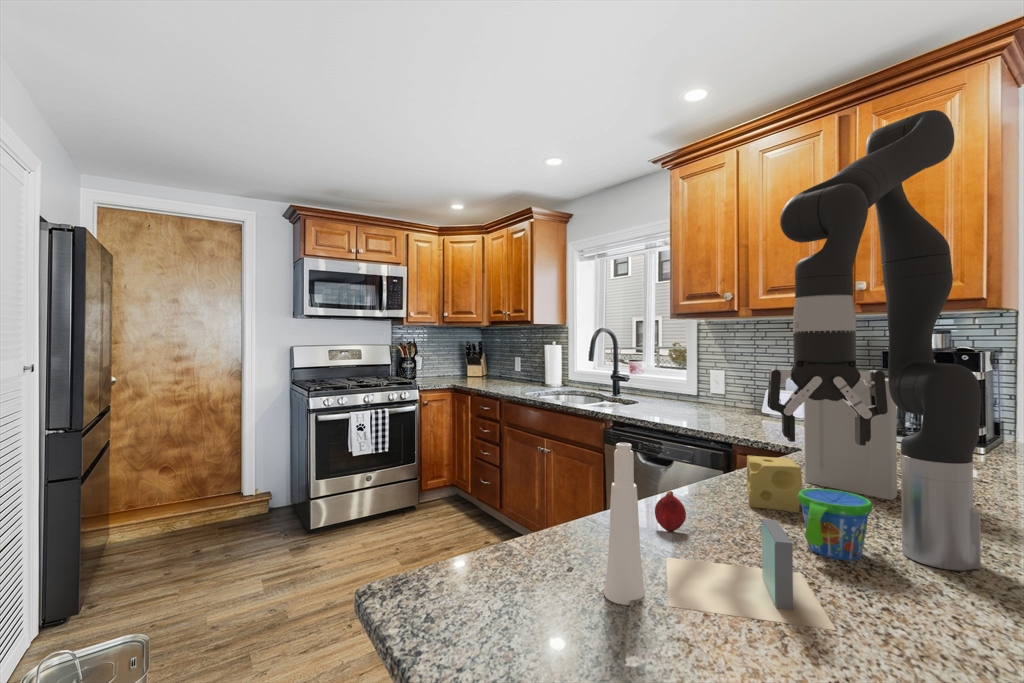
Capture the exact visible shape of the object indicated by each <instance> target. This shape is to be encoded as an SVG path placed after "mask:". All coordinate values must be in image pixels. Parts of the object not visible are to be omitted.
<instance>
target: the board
mask: <svg viewBox="0 0 1024 683" xmlns="http://www.w3.org/2000/svg"><path fill="white" fill-rule="evenodd" d="M665 563H666V584H667V585H666V587H667V590H666V591H667V607H668V608H674V609H675V608H676V609H682V610H692V611H696V612H702V613H703V612H705V613H709V614H710V613H711V614H717V615H719V614H720V615H723V616H724V615H725V616H733V617H737V618H738V617H740V618H745V619H746V618H747V619H752V620H753V619H754V620H757V621H758V620H759V621H767V622H772V623H773V622H774V623H781V624H788V625H795V626H803V627H808V628H809V627H810V628H817V629H822V630H830V631H836V632H837V628H836V627H835V626H834V624H833V622H832V621H831V619H830V617H829V616H828V614H827V613H826V611H825V610H824V608H823V606H822V605H821V603H820V602H819V600H818V598H817V597H816V595H815V593H814V592H813V590H812V589H811V587H810V586H809V584H808V583H807V581H806V580H805V578H804V576H803V574H802V573H801V572H796V571H795V572H794V571H793V611H791V610H784V609H777V608H776V606H775V604H774V602H773V600H772V598H771V595H770V593H769V591H768V589H767V587H766V584H765V582H764V580H763V577H762V567H761V568H760V567H751V566H744V565H743V566H742V565H737V564H736V565H734V564H725V563H718V562H708V561H700V560H692V559H684V558H675V557H673V558H672V557H667V556H666V557H665Z"/></svg>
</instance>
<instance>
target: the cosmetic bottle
mask: <svg viewBox="0 0 1024 683" xmlns="http://www.w3.org/2000/svg"><path fill="white" fill-rule="evenodd" d="M632 446H633V445H632V444H631V443H629V442H618V443H615V448H616V449H615V450H614V452H613V456H614V457H613V458H614V461H613V462H614V464H613V467H614V473H613V475H614V476H613V477H614V479H613V480H614V482H612V483H611V490H610V504H609V505H610V506H609V507H610V508H609V527H608V528H609V530H608V531H609V532H608V534H609V536H608V549H607V550H608V552H607V562H606V563H607V565H606V571H605V572H606V573H605V581H604V586H603V594H604V596H605V598H606V599H607V600H609V601H610V602H612V603H613V604H617V605H620V604H621V606H631V602H632V601H637V600H640V599H642V598H644V597H645V595H646V589H645V583H644V576H643V567H642V554H641V539H640V522H639V521H640V520H639V519H640V518H639V516H640V515H639V502H638V501H639V500H638V486H637V484H636V483H635V478H634V474H635V473H634V470H635V469H634V468H635V467H634V466H635V465H634V464H635V463H634V451H633V450H631V449H632Z"/></svg>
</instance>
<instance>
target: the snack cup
mask: <svg viewBox="0 0 1024 683" xmlns="http://www.w3.org/2000/svg"><path fill="white" fill-rule="evenodd" d="M798 499H799V501H800V505H801V508H802V515H803V520H804V527H805V533H804V535H805V536H804V537H805V539H806V541H807V544H808V548H809V549H810V550H811V551H812V552H813V553H816V554H817V555H820V556H823V557H825V558H829V559H834V560H839V561H840V560H841V561H848V562H849V561H856V560H857V561H858V560H860V559H861V558H862V554H863V552H864V551H863V550H864V545H865V539H866V533H867V528H868V521H869V520H868V518H869V516H870V514H871V513H872V510H873V506H874V505H873V503H872V501H871V500H869V498H866V497H864V496H862V495H858V494H857V493H853V492H849V491H844V490H838V489H831V488H829V489H827V488H805V489H802V490H801V491H800V492H799V494H798Z"/></svg>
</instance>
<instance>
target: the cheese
mask: <svg viewBox="0 0 1024 683" xmlns="http://www.w3.org/2000/svg"><path fill="white" fill-rule="evenodd" d="M746 472H747V473H746V475H747V476H746V487H747V488H746V492H747V493H746V494H747V498H748V504H749V506H748V507H749V508H754V509H764V510H765V509H766V510H767V509H768V510H774V511H776V510H777V511H783V512H790V513H799V512H800V505H801V503H800V501H799V499H798V494H799V492H800V491H801V490H803V488H802V487H803V476H802V468H801V467H800V466H799V465H798V464H796V463H795V461H794V459H793V458H787V457H774V456H773V457H772V456H770V457H769V456H760V455H759V456H757V455H747V456H746Z"/></svg>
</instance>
